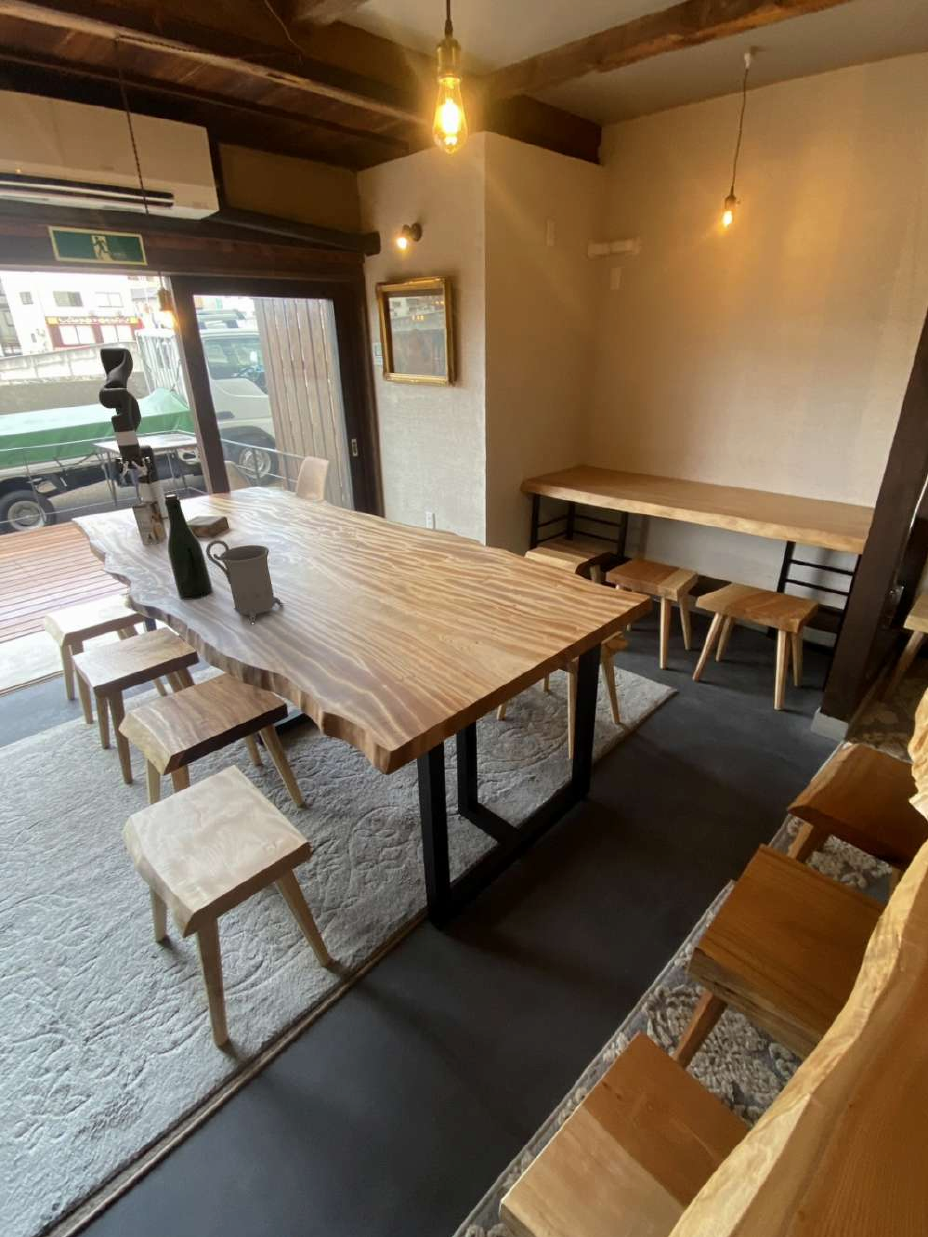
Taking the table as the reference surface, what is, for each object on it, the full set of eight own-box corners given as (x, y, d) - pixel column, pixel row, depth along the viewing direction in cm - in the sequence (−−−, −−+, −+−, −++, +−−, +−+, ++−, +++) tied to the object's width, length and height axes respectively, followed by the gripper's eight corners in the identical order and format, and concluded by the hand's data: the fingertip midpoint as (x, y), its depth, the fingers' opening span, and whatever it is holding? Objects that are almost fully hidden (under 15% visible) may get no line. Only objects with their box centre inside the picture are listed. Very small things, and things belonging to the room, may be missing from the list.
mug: (273, 597, 190) (258, 522, 179) (293, 612, 180) (278, 533, 169) (215, 615, 180) (195, 537, 169) (232, 631, 170) (212, 549, 159)
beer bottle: (202, 585, 203) (178, 489, 188) (219, 591, 197) (195, 493, 182) (173, 595, 196) (145, 496, 181) (189, 602, 189) (162, 501, 175)
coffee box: (153, 537, 254) (142, 500, 247) (167, 537, 254) (157, 500, 247) (142, 544, 246) (131, 506, 239) (157, 544, 246) (146, 506, 238)
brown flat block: (182, 537, 252) (179, 525, 250) (199, 527, 264) (196, 515, 262) (213, 537, 250) (210, 525, 248) (229, 527, 262) (226, 515, 260)
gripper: (150, 440, 234) (161, 481, 242) (117, 441, 236) (129, 481, 243) (138, 444, 228) (150, 486, 235) (105, 444, 230) (117, 486, 237)
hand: (139, 483), depth 239 cm, fingers open, 8 cm apart
